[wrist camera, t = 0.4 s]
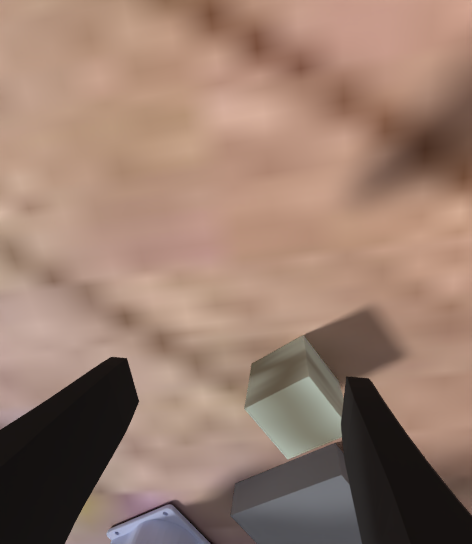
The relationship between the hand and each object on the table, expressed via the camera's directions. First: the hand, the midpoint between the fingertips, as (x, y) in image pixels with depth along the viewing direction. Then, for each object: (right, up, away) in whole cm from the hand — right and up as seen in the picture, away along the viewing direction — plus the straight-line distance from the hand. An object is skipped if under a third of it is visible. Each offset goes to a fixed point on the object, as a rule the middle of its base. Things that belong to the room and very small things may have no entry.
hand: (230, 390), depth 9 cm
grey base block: (+7, -16, +16) cm, 24 cm away
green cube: (+5, -3, +12) cm, 13 cm away
